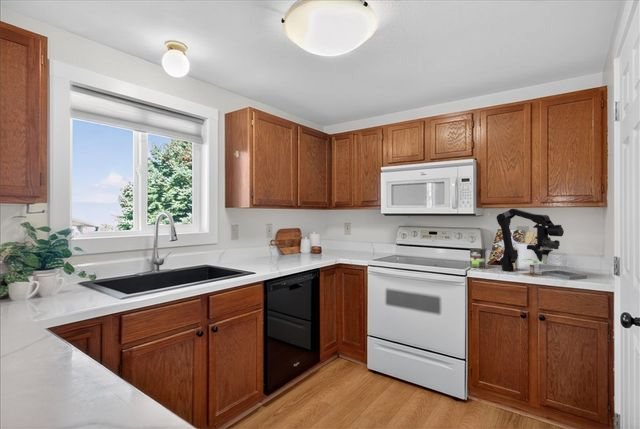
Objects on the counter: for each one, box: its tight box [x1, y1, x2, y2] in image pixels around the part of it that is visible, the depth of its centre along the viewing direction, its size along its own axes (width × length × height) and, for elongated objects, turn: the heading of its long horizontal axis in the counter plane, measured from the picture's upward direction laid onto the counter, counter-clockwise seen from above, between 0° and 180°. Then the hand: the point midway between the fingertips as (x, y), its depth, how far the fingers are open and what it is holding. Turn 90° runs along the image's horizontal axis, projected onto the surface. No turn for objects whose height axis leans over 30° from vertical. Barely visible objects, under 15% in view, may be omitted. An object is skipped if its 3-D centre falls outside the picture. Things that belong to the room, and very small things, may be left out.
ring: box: [520, 254, 548, 265], centre depth 204 cm, size 13×9×6 cm
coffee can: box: [469, 247, 487, 271], centre depth 235 cm, size 10×10×14 cm
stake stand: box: [517, 264, 547, 278], centre depth 206 cm, size 11×11×7 cm
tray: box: [541, 269, 588, 281], centre depth 200 cm, size 18×14×3 cm
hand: (542, 261), depth 199 cm, fingers closed on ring, 3 cm apart
